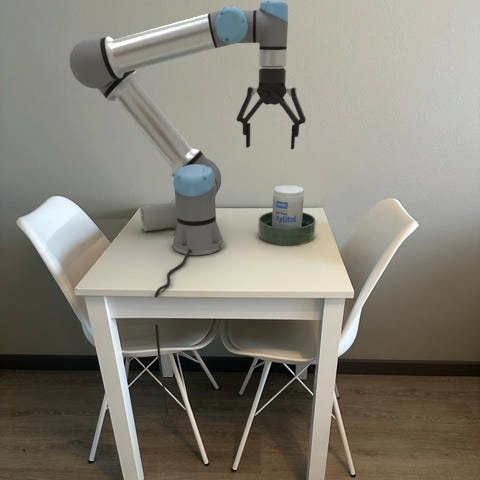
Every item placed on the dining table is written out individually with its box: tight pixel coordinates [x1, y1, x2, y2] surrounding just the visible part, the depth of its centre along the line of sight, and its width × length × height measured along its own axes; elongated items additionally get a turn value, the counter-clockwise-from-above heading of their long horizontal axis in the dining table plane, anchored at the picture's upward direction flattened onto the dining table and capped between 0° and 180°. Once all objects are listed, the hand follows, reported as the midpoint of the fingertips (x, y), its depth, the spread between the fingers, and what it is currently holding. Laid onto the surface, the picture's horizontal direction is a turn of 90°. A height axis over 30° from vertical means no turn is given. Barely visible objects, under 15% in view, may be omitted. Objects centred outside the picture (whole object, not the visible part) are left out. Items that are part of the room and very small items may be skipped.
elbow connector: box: [139, 197, 178, 232], centre depth 160 cm, size 18×10×20 cm
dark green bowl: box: [258, 211, 317, 246], centre depth 150 cm, size 18×18×6 cm
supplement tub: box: [271, 184, 305, 229], centre depth 148 cm, size 10×10×15 cm
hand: (270, 147), depth 141 cm, fingers open, 13 cm apart
